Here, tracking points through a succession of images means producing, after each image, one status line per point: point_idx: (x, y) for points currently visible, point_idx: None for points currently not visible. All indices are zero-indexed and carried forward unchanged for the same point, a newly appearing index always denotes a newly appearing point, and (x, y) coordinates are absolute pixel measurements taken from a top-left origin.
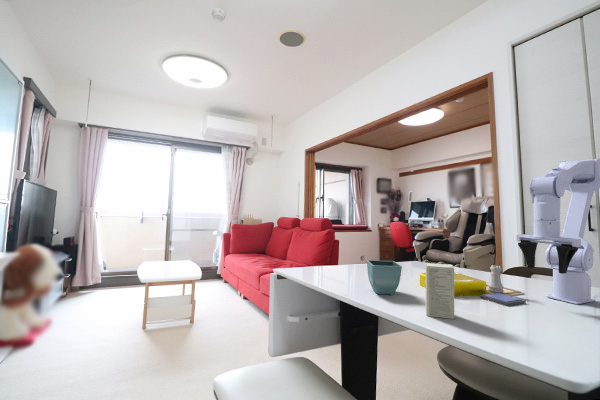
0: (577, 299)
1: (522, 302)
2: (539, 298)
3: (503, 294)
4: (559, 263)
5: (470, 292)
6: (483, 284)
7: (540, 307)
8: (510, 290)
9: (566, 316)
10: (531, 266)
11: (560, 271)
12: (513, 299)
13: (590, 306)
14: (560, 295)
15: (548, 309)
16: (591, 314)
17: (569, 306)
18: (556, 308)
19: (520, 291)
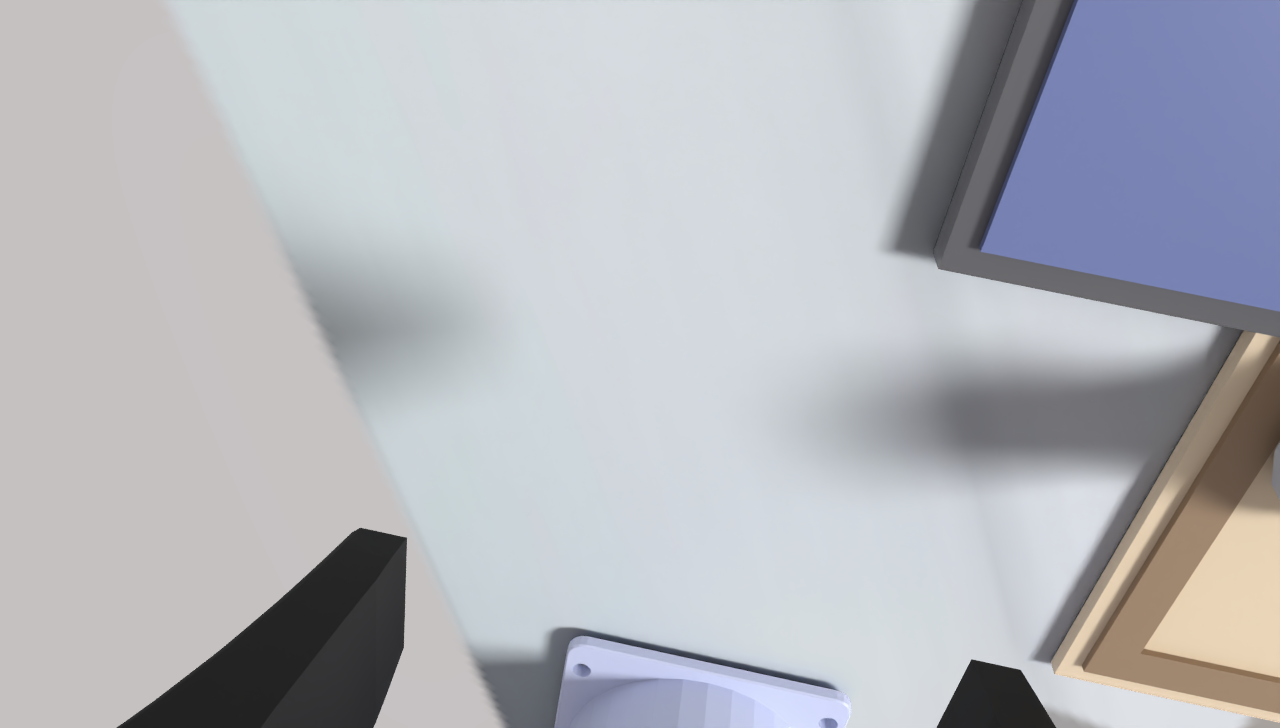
0: (589, 713)
1: (958, 194)
2: (881, 603)
3: (1252, 297)
4: (281, 670)
5: None
6: None
7: (753, 219)
8: (1208, 654)
9: (441, 76)
10: (957, 719)
11: (357, 547)
12: (1071, 126)
13: (500, 664)
14: (715, 712)
15: (666, 211)
16: (374, 402)
17: (593, 527)
18: (633, 339)
19: (1096, 671)
